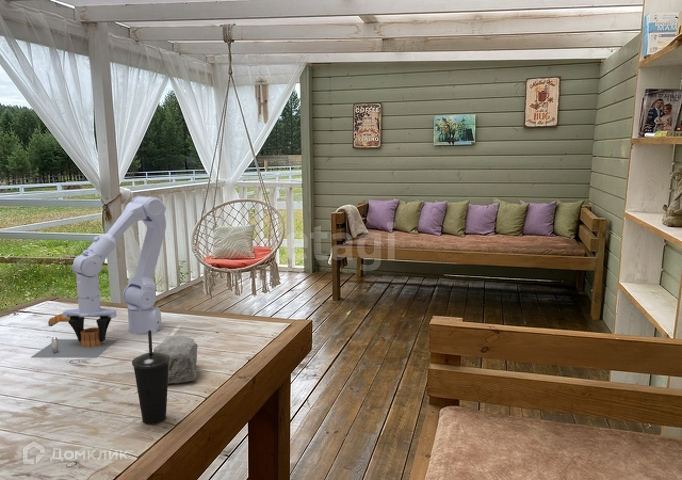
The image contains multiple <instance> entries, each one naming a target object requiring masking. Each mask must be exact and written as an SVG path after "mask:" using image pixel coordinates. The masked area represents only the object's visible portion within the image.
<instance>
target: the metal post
mask: <svg viewBox="0 0 682 480" xmlns="http://www.w3.org/2000/svg"><path fill="white" fill-rule="evenodd" d="M58 339H59V338H58V337H57V336H53V337H52V338H51V343H52V353H54V354H55V353H58V352H59V350H58Z"/></svg>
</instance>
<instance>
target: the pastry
mask: <svg viewBox="0 0 682 480" xmlns="http://www.w3.org/2000/svg"><path fill="white" fill-rule="evenodd" d="M68 320H70V317H68V318H64V316H63V312H62V313H59V314H58V315H55V316H52V317H51V318H49V319H48V322H47V323H48V325H50V326H53V327H54V326H55V325H57V324H58V323H61V322H62V323H68Z"/></svg>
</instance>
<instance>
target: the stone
mask: <svg viewBox="0 0 682 480" xmlns="http://www.w3.org/2000/svg"><path fill="white" fill-rule="evenodd" d="M198 347H199V345H198V343H197V342H195V339H193V338H191V337H189V336H185V335H170V336H169V335H168V336H167V337H165V339H164V340H163V341H162V342H161V343H160V344H158V345H157V346H155V348H154V349H153V350H152V352H159V353H164V354H167V355H169V356H170V361H169V368H168V385H169V384H182V383H187V382H193V381H196V379H197V378H198V377H197V376H198V374H197V362H198V361H197V360H198Z"/></svg>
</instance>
